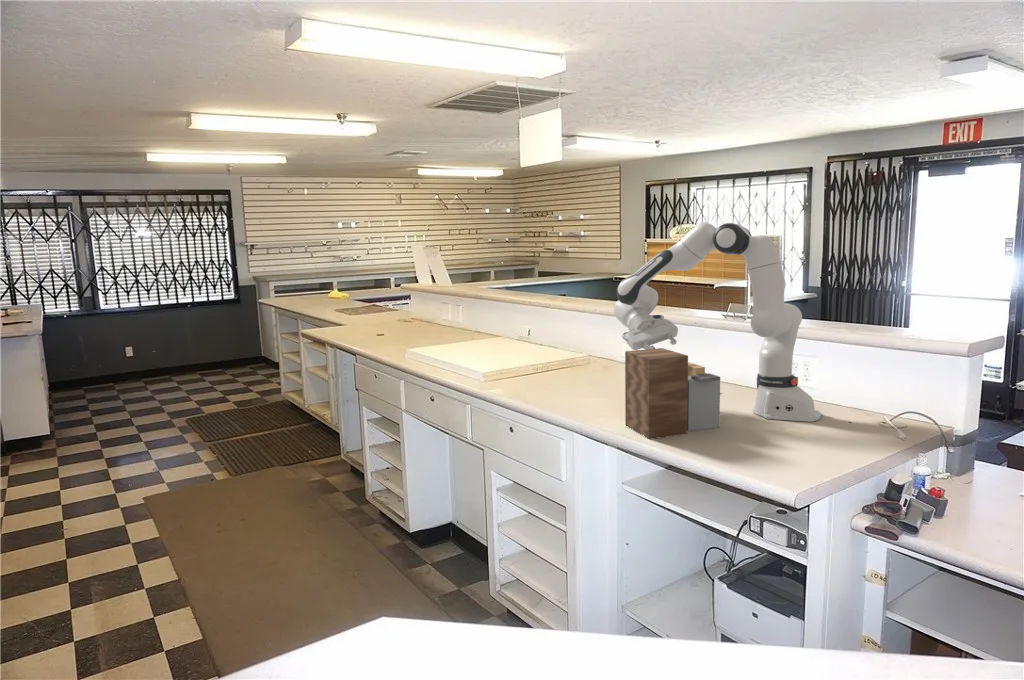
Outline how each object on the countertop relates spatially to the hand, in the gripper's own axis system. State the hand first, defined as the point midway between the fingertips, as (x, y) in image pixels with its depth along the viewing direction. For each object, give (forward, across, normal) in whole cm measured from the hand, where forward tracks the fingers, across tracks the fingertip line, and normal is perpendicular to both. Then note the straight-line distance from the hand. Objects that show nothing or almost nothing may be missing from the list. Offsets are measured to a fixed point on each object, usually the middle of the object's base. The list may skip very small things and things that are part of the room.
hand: (664, 346), depth 243 cm
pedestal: (+27, -22, +8) cm, 36 cm away
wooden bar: (+18, -4, -2) cm, 18 cm away
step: (+28, -7, +11) cm, 31 cm away
